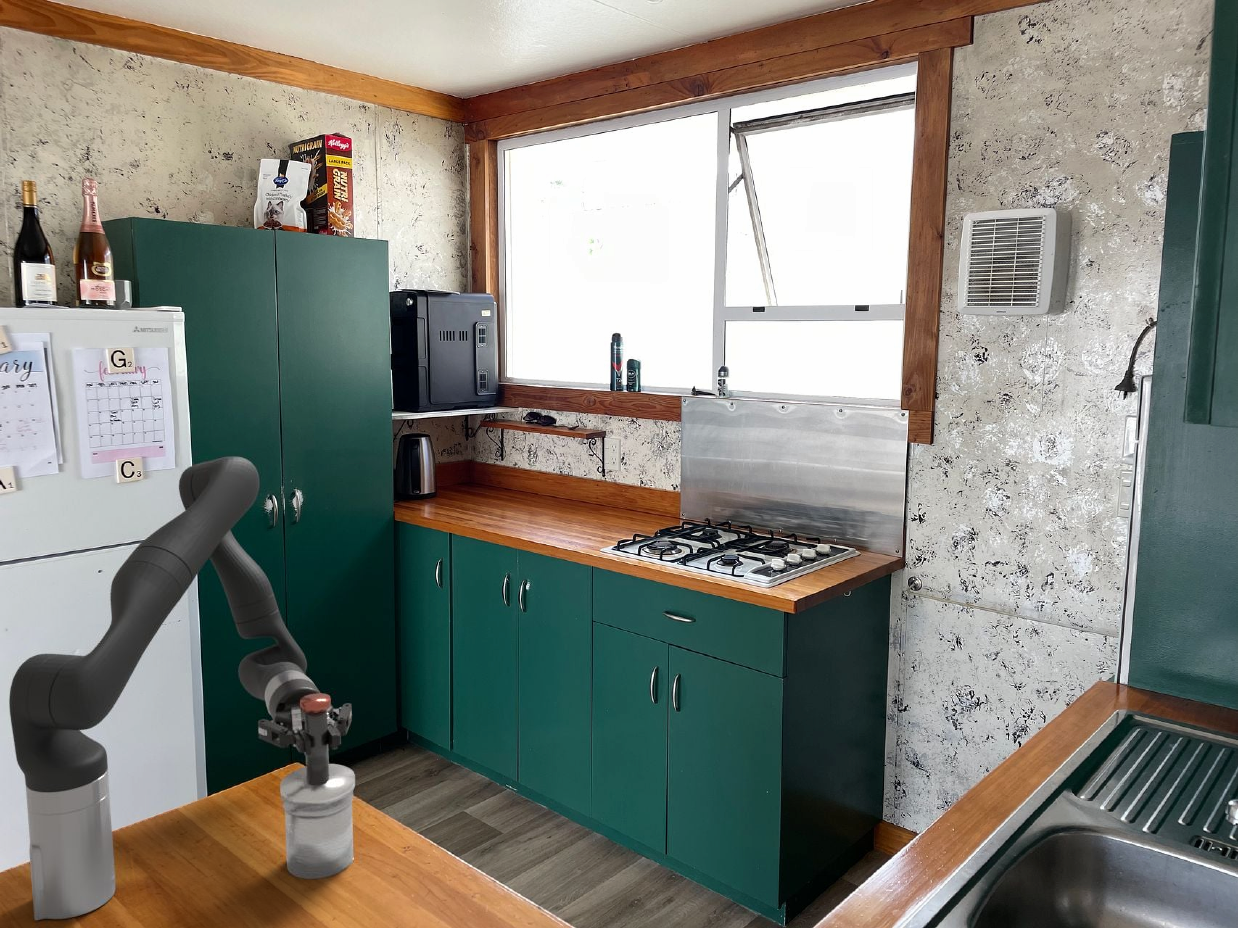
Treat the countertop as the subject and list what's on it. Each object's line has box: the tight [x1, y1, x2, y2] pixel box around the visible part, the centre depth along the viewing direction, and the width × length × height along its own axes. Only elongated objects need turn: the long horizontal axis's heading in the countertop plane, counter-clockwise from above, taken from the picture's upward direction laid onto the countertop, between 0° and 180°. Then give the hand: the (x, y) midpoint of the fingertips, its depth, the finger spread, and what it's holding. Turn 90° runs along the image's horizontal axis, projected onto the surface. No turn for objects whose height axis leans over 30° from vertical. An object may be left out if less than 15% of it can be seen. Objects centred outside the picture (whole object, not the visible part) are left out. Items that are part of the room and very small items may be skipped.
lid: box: [279, 692, 356, 806], centre depth 130 cm, size 10×10×13 cm
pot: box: [282, 790, 354, 880], centre depth 132 cm, size 9×9×10 cm
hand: (321, 745), depth 128 cm, fingers closed on lid, 3 cm apart
